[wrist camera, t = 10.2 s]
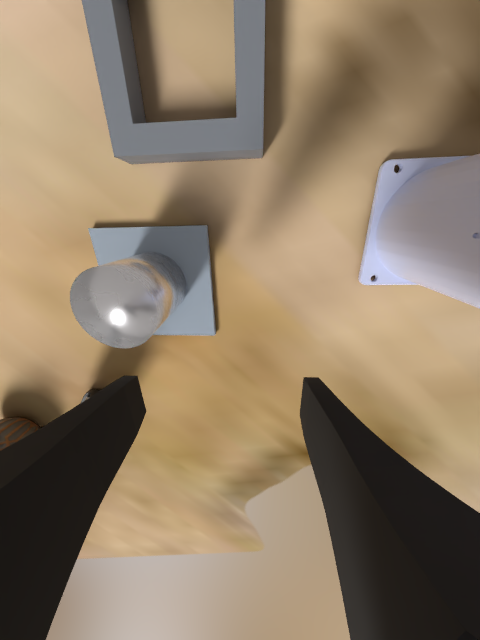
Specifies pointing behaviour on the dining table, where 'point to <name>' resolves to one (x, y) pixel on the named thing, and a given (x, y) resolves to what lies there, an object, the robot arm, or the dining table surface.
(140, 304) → the shiny metal cylinder
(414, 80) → the dining table surface
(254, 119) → the frame
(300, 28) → the dining table surface
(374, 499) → the robot arm
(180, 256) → the mat
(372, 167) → the dining table surface
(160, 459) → the dining table surface
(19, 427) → the vase
